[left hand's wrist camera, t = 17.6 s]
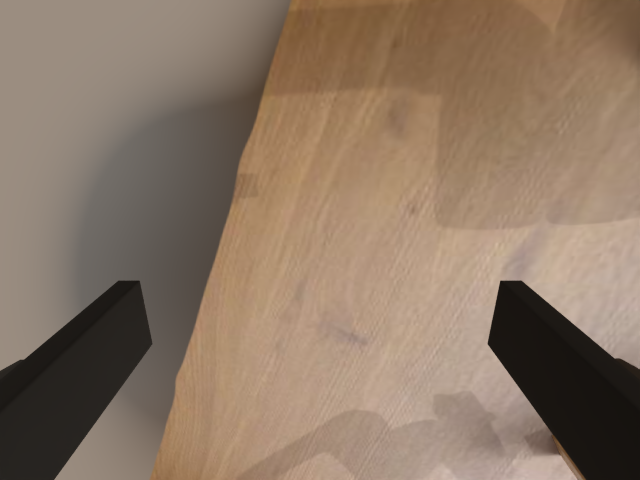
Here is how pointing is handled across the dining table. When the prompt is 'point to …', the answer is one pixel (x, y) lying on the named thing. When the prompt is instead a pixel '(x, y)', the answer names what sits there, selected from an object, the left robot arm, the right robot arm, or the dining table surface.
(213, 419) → the dining table surface
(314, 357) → the dining table surface
